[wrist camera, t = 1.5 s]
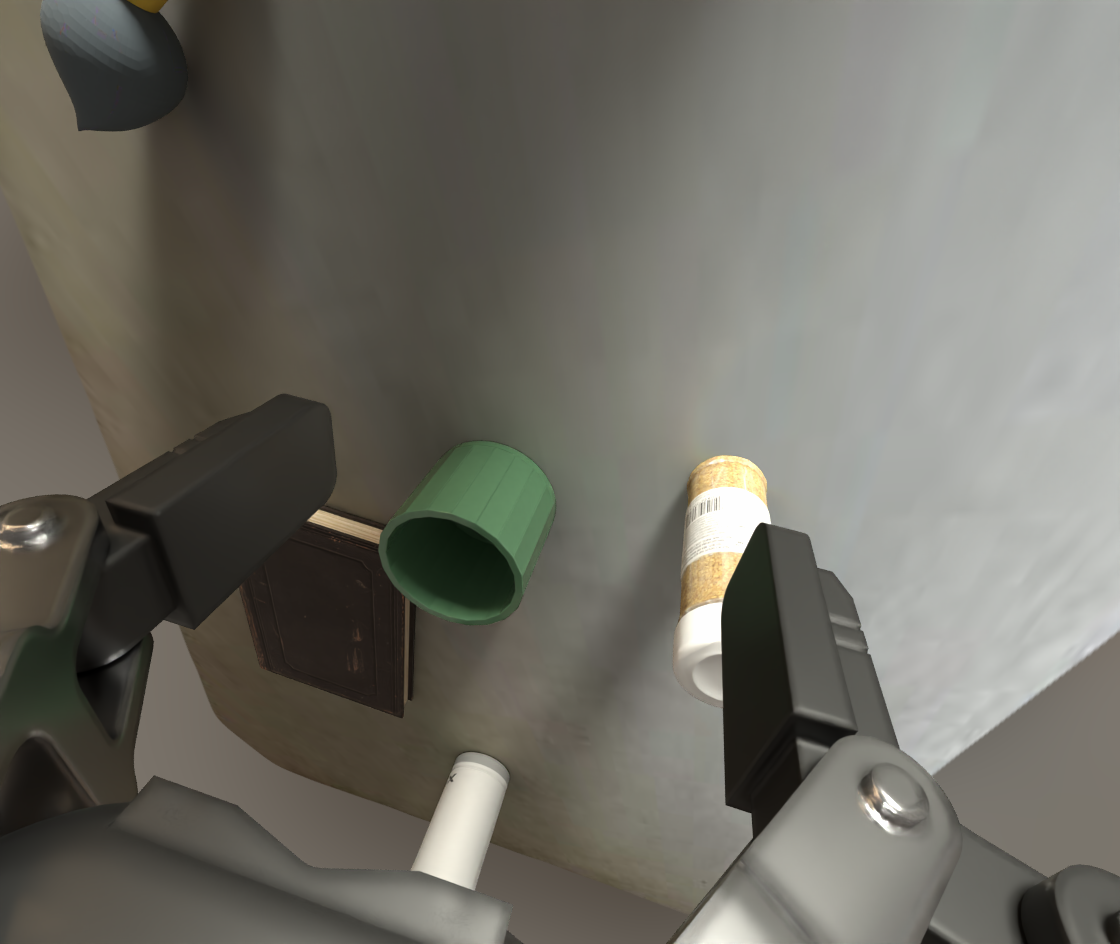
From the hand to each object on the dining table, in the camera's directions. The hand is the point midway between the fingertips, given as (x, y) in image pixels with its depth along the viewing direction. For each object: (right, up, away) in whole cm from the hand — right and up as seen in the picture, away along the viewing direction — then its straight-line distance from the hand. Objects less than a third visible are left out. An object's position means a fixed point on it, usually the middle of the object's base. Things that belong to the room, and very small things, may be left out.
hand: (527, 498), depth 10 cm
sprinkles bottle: (+11, 0, +22) cm, 24 cm away
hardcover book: (-20, -11, +38) cm, 44 cm away
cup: (-4, -1, +27) cm, 27 cm away
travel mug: (-8, -32, +49) cm, 59 cm away
